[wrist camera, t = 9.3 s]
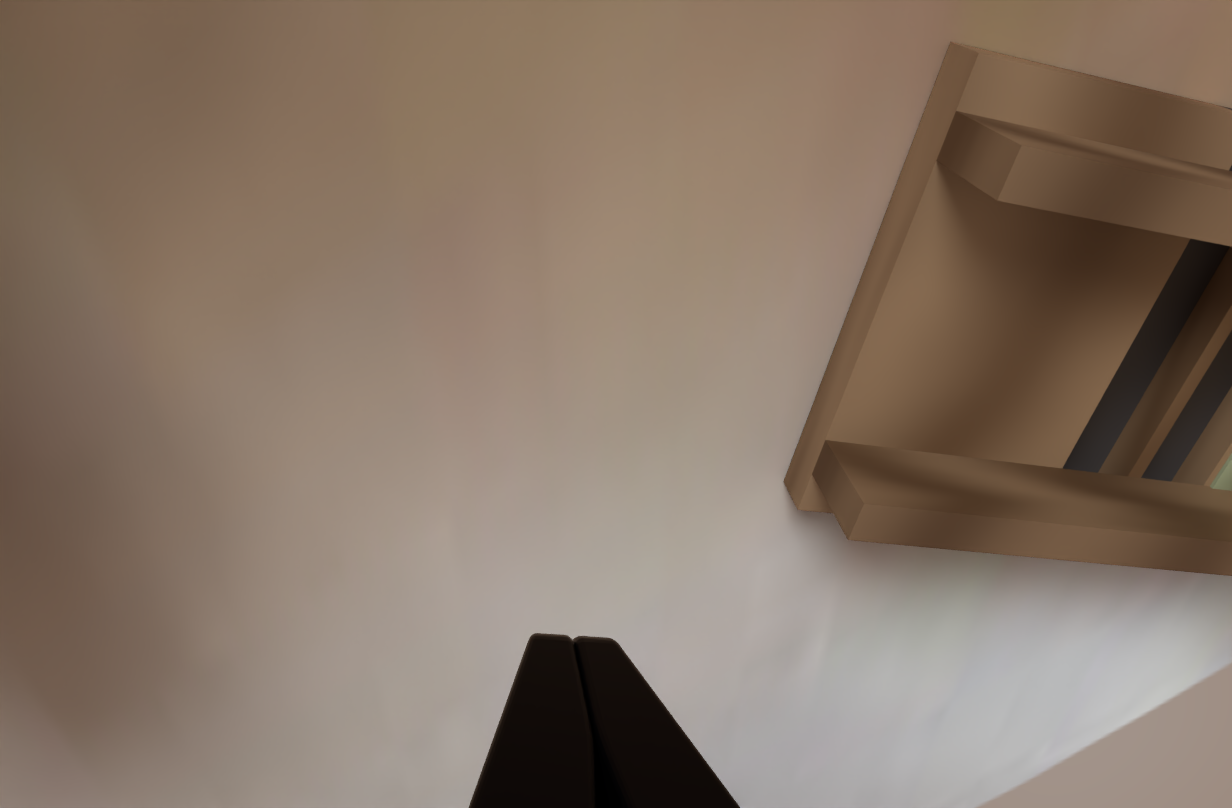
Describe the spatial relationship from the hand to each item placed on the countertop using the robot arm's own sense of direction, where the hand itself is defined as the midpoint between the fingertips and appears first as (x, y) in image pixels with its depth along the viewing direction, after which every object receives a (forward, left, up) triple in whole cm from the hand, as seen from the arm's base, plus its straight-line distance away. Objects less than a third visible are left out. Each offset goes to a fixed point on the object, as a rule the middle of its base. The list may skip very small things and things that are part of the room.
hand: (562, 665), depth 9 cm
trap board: (+13, -11, -12) cm, 20 cm away
